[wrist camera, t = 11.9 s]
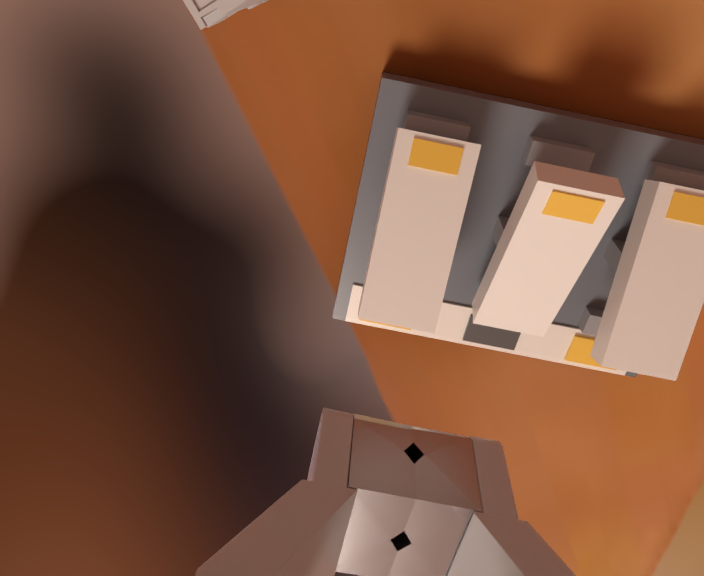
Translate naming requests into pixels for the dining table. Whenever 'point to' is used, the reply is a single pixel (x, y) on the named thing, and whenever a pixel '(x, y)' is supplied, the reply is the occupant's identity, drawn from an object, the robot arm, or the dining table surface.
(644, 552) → the dining table surface
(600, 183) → the rocker
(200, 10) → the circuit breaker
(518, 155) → the switch unit
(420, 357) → the dining table surface
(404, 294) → the block
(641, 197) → the block
